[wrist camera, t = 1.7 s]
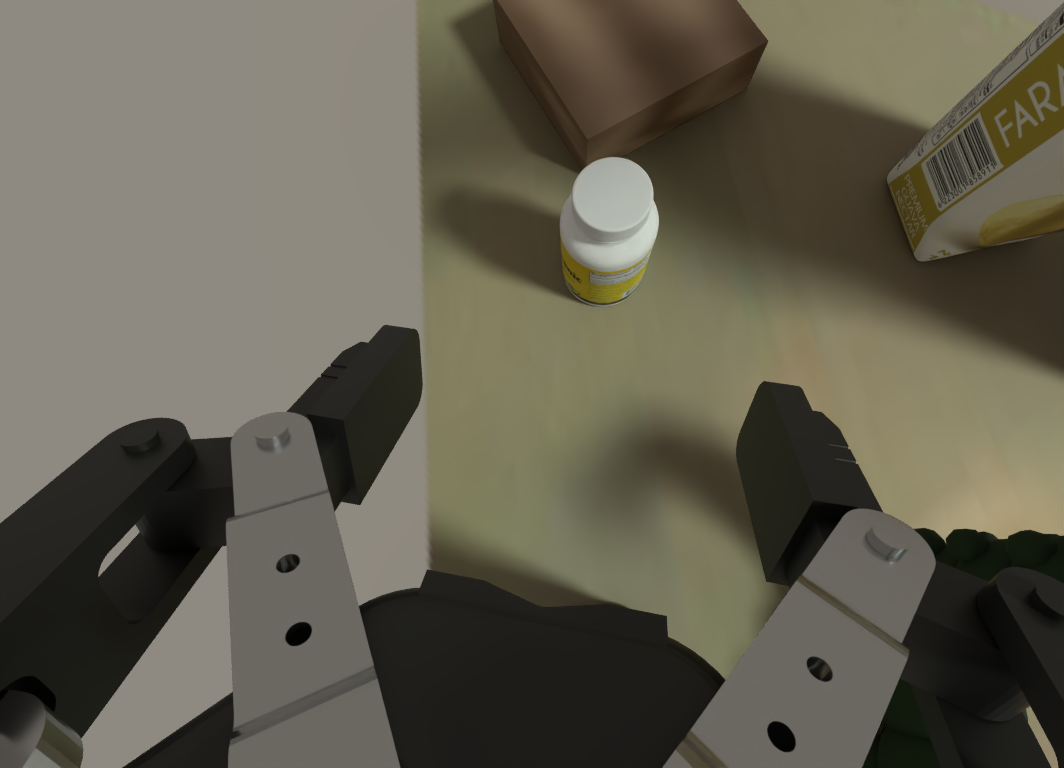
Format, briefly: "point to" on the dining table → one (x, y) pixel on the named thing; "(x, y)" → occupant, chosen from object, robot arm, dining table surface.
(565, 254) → the supplement bottle
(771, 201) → the dining table surface
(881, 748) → the toy figurine
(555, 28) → the walnut plinth
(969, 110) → the juice carton
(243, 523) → the robot arm
